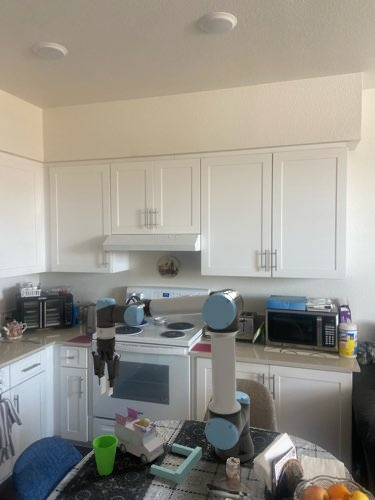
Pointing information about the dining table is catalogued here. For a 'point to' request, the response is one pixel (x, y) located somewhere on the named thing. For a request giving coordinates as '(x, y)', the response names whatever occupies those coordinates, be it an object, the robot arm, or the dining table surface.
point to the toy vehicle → (137, 436)
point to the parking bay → (185, 468)
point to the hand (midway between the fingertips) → (106, 393)
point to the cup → (105, 453)
